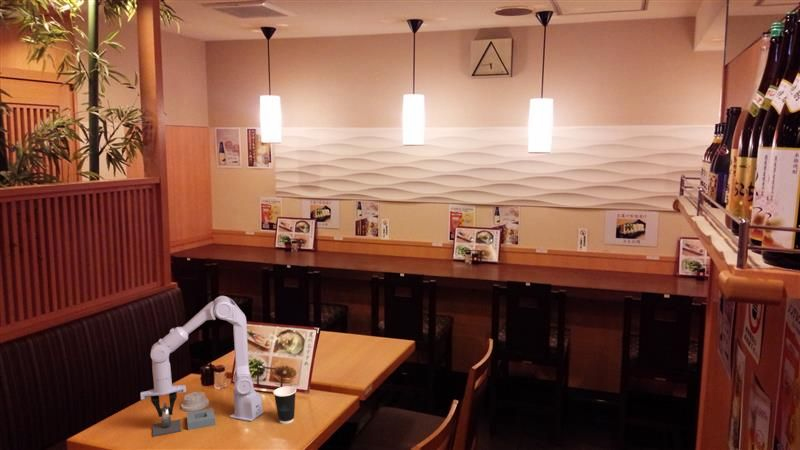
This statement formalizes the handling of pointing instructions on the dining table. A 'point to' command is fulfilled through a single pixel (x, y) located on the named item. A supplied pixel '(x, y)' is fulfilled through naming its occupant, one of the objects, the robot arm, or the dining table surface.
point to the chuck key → (165, 415)
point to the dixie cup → (285, 403)
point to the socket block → (200, 418)
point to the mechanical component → (194, 401)
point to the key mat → (166, 428)
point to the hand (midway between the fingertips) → (165, 414)
